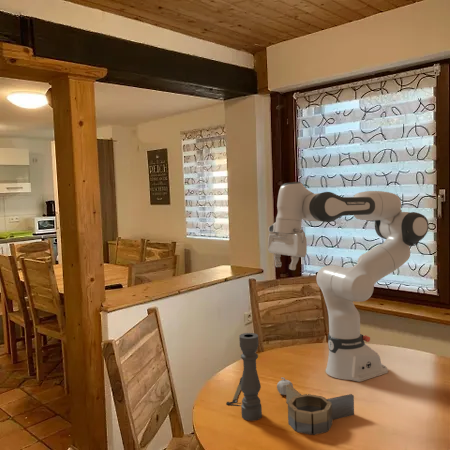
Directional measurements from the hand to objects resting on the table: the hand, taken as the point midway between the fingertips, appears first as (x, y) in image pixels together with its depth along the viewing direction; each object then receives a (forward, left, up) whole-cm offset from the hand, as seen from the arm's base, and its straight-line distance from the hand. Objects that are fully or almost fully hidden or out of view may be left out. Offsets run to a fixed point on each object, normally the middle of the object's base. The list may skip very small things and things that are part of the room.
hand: (284, 268), depth 162 cm
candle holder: (+21, +17, -41) cm, 49 cm away
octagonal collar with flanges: (+2, +23, -41) cm, 47 cm away
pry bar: (+18, 0, -42) cm, 45 cm away
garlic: (+5, +7, -41) cm, 42 cm away
